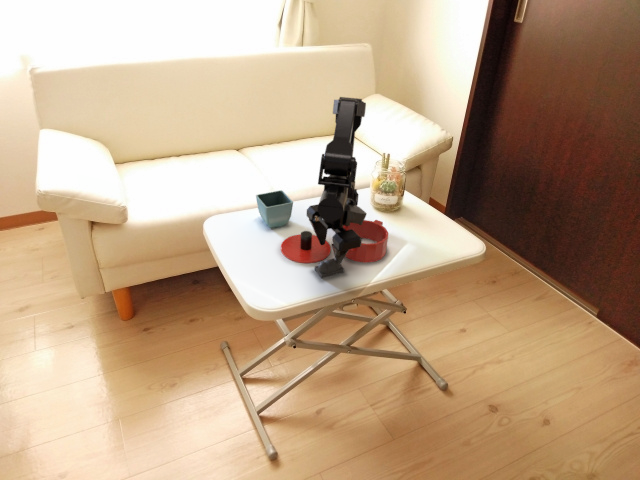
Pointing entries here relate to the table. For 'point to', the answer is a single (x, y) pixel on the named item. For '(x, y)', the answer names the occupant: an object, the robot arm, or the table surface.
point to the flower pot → (274, 208)
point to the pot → (369, 250)
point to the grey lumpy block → (328, 268)
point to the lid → (305, 248)
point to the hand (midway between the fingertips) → (330, 253)
